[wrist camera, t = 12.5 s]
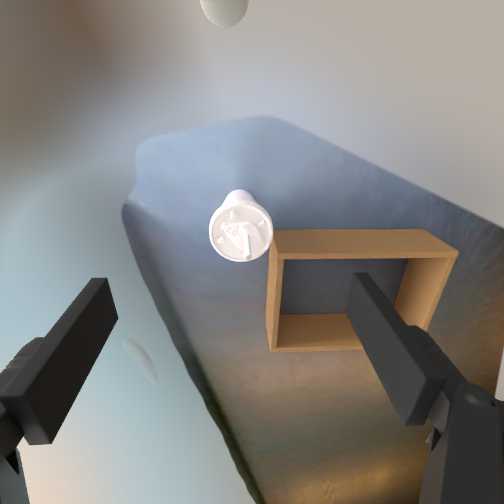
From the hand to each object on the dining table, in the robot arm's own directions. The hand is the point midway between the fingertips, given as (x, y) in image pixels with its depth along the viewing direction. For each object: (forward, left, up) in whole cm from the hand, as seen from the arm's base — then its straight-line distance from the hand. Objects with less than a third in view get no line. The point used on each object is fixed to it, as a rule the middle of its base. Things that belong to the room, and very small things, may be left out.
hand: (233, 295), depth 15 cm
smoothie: (+2, +1, -22) cm, 23 cm away
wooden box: (+13, +16, -22) cm, 30 cm away
